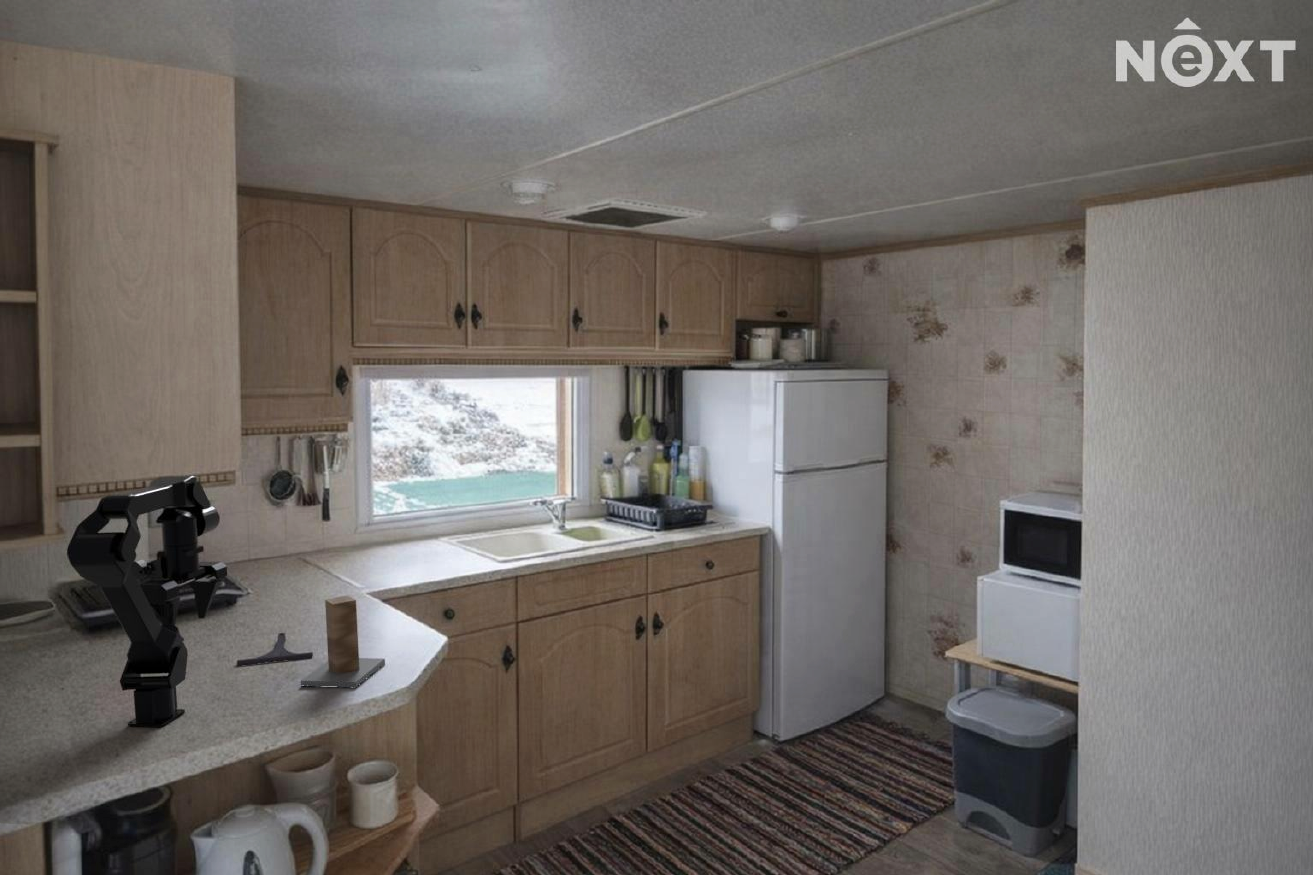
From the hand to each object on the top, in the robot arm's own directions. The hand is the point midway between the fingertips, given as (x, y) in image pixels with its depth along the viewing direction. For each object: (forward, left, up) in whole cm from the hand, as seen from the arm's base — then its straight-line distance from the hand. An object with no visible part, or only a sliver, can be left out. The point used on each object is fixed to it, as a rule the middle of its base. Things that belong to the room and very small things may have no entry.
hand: (186, 625), depth 163 cm
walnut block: (+11, -25, -12) cm, 30 cm away
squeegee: (+24, -4, -14) cm, 28 cm away
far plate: (+11, -25, -13) cm, 30 cm away
